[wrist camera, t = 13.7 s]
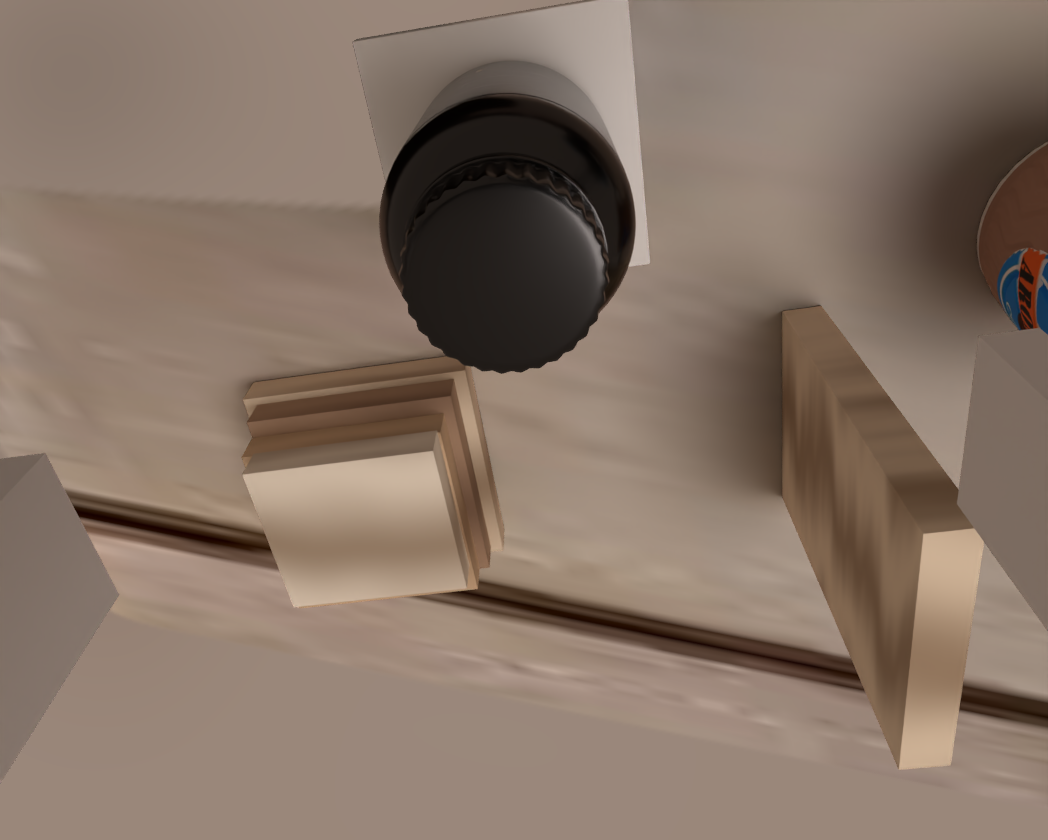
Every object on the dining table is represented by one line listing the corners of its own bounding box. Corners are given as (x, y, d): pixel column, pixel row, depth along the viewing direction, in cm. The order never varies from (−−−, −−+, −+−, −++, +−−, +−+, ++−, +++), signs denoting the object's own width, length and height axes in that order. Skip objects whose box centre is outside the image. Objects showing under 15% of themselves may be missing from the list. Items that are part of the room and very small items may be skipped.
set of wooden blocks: (253, 382, 35) (103, 623, 23) (821, 306, 33) (985, 526, 21) (314, 551, 39) (215, 828, 27) (816, 493, 37) (950, 765, 25)
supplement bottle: (632, 223, 30) (684, 375, 20) (454, 277, 32) (416, 447, 21) (581, 24, 27) (611, 82, 17) (384, 92, 28) (298, 186, 18)
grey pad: (356, 39, 28) (352, 42, 28) (625, -7, 27) (627, -5, 27) (415, 289, 33) (412, 297, 32) (647, 256, 32) (650, 263, 31)
